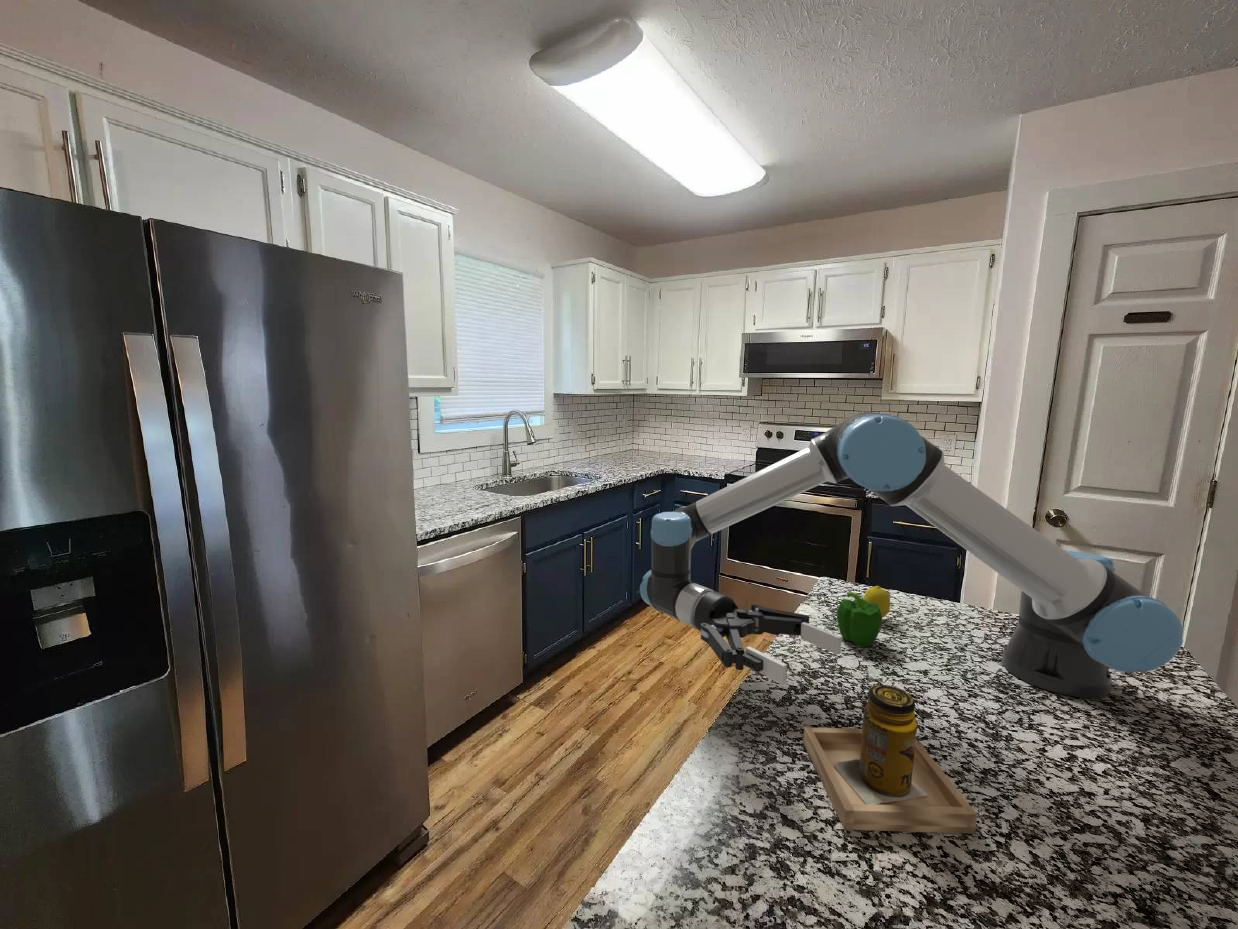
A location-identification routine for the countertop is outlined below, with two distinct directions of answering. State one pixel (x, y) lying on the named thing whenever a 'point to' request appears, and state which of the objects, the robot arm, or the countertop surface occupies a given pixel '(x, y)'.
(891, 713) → the condiment
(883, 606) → the lemon
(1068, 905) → the countertop surface
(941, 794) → the tray
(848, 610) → the bell pepper
